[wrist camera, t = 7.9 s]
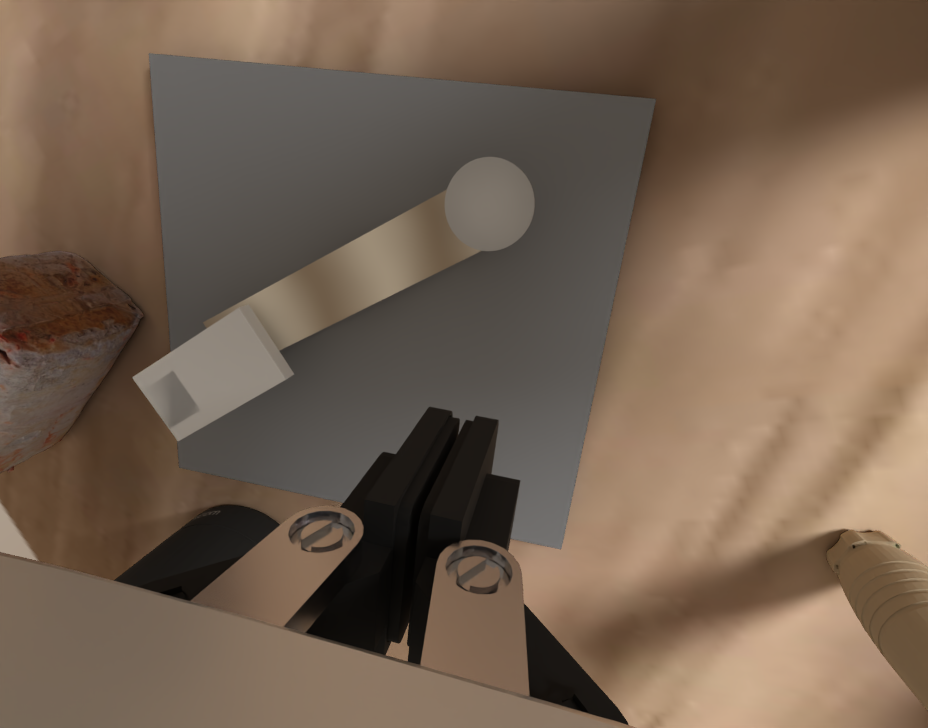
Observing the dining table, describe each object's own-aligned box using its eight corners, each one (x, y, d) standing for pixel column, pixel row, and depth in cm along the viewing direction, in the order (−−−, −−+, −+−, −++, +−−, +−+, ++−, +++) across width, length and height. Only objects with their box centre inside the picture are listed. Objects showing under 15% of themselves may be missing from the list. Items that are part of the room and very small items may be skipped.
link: (458, 188, 24) (450, 187, 22) (486, 248, 24) (480, 251, 23) (224, 315, 28) (203, 322, 26) (253, 363, 29) (233, 373, 27)
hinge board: (163, 58, 26) (79, 28, 21) (652, 103, 22) (674, 78, 18) (189, 460, 33) (131, 500, 29) (561, 538, 30) (560, 598, 25)
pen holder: (319, 519, 33) (220, 646, 23) (305, 629, 36) (213, 781, 26) (186, 479, 34) (41, 586, 24) (184, 590, 37) (54, 723, 27)
